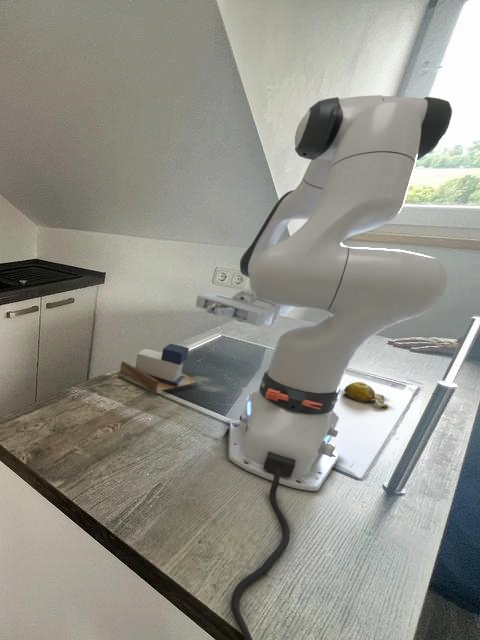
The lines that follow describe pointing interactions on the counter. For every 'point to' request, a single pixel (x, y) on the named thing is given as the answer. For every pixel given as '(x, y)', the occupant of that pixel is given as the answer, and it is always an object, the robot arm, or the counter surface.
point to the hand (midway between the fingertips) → (212, 311)
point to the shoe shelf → (150, 378)
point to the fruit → (364, 393)
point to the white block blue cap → (163, 363)
